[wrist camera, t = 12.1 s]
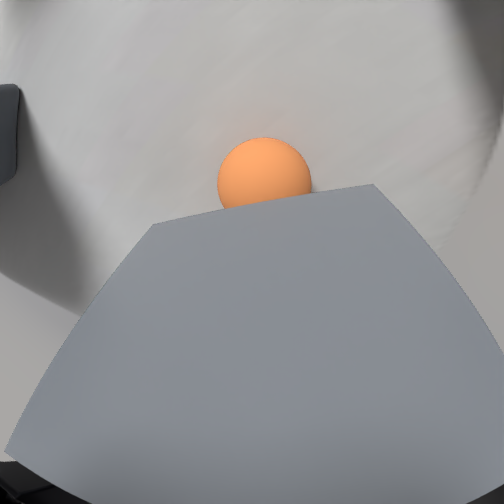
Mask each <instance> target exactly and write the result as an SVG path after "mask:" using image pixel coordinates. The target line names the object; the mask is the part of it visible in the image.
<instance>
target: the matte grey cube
mask: <svg viewBox="0 0 504 504" xmlns="http://www.w3.org/2000/svg"><path fill="white" fill-rule="evenodd" d="M4 452H6V453H7V454H8V455H9V456H11V457H12V458H13V459H15V460H16V461H18V462H19V463H20V464H22V465H23V466H25V467H26V468H28V469H29V470H31V471H33V472H34V473H36V474H37V475H39V476H40V477H42V478H44V479H45V480H47V481H49V482H51V483H52V484H54V485H56V486H58V487H59V488H61V489H63V490H65V491H67V492H69V493H71V494H73V495H75V496H77V497H79V498H81V499H83V500H85V501H87V502H89V503H92V504H466V503H469V502H471V501H473V500H475V499H477V498H479V497H481V496H483V495H485V494H487V493H489V492H490V491H492V490H494V489H496V488H498V487H499V486H501V485H503V484H504V354H503V353H502V351H501V349H500V347H499V345H498V344H497V342H496V340H495V338H494V337H493V335H492V333H491V332H490V330H489V329H488V327H487V325H486V323H485V322H484V320H483V319H482V317H481V316H480V314H479V313H478V311H477V309H476V308H475V306H474V305H473V303H472V302H471V300H470V299H469V297H468V296H467V295H466V293H465V292H464V290H463V289H462V288H461V286H460V285H459V283H458V282H457V281H456V279H455V278H454V277H453V275H452V274H451V272H450V271H449V270H448V269H447V267H446V266H445V265H444V264H443V262H442V261H441V259H440V258H439V257H438V256H437V254H436V253H435V252H434V251H433V249H432V248H431V247H430V246H429V245H428V243H427V242H426V241H425V240H424V239H423V237H422V236H421V235H420V234H419V233H418V232H417V230H416V229H415V228H414V227H413V226H412V225H411V224H410V222H409V221H408V220H407V219H406V218H405V217H404V216H403V215H402V214H401V212H400V211H399V210H398V209H397V208H396V207H395V206H394V205H393V204H392V203H391V202H390V201H389V200H388V199H387V198H386V197H385V196H384V194H383V193H382V192H381V191H380V190H379V189H378V188H377V187H376V186H375V185H374V184H371V185H363V186H356V187H349V188H342V189H335V190H329V191H322V192H316V193H310V194H304V195H298V196H292V197H286V198H280V199H275V200H269V201H263V202H258V203H253V204H247V205H242V206H237V207H232V208H227V209H222V210H217V211H212V212H207V213H202V214H198V215H193V216H188V217H184V218H179V219H175V220H170V221H166V222H162V223H157V224H153V225H152V226H151V228H150V229H149V230H148V231H147V232H146V233H145V235H144V236H143V237H142V238H141V239H140V241H139V242H138V243H137V244H136V245H135V247H134V248H133V249H132V250H131V252H130V253H129V254H128V255H127V257H126V258H125V259H124V260H123V262H122V263H121V264H120V265H119V267H118V268H117V269H116V270H115V272H114V273H113V274H112V276H111V277H110V278H109V280H108V281H107V282H106V284H105V285H104V286H103V288H102V289H101V290H100V292H99V293H98V294H97V296H96V297H95V298H94V300H93V301H92V302H91V304H90V305H89V307H88V308H87V309H86V311H85V312H84V314H83V315H82V317H81V318H80V319H79V321H78V322H77V324H76V325H75V327H74V328H73V330H72V331H71V333H70V334H69V336H68V337H67V339H66V340H65V342H64V343H63V345H62V346H61V348H60V349H59V351H58V353H57V354H56V356H55V357H54V359H53V361H52V362H51V364H50V366H49V367H48V369H47V370H46V372H45V374H44V376H43V377H42V379H41V381H40V382H39V384H38V386H37V388H36V389H35V391H34V393H33V395H32V397H31V398H30V400H29V402H28V404H27V406H26V408H25V409H24V411H23V413H22V415H21V417H20V419H19V421H18V423H17V425H16V427H15V429H14V431H13V433H12V435H11V438H10V440H9V442H8V444H7V447H6V449H5V451H4Z"/></svg>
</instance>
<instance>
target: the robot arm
mask: <svg viewBox="0 0 504 504" xmlns="http://www.w3.org/2000/svg"><path fill="white" fill-rule="evenodd" d="M0 504H92V503H89V502H87V501H85V500H83V499H81V498H79V497H77V496H75V495H73V494H71V493H69V492H67V491H65V490H63V489H61V488H59V487H58V486H56V485H54V484H52V483H51V482H49V481H47V480H45V479H44V478H42V477H40V476H39V475H37V474H36V473H34V472H33V471H31V470H29V469H28V468H26V467H25V466H23V465H22V464H20V463H19V462H18V461H11V462H0ZM466 504H504V484H503V485H501V486H499V487H498V488H496V489H494V490H492V491H490V492H489V493H487V494H485V495H483V496H481V497H479V498H477V499H475V500H473V501H471V502H469V503H466Z"/></svg>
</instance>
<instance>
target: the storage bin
mask: <svg viewBox="0 0 504 504" xmlns="http://www.w3.org/2000/svg"><path fill="white" fill-rule="evenodd" d="M18 103H19V89H18V87H17V86H16V85H15V84H2V85H0V185H2V184H3V183H5V182H6V181H8V180H9V179H11V178H12V177H13V176H14V174H15V171H16V129H17V113H18Z"/></svg>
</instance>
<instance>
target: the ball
mask: <svg viewBox="0 0 504 504" xmlns="http://www.w3.org/2000/svg"><path fill="white" fill-rule="evenodd" d="M217 187H218V194H219V197H220V200H221V203H222V205H223V207H224V208H225V209H227V208H232V207H237V206H242V205H247V204H253V203H258V202H263V201H269V200H275V199H280V198H286V197H292V196H298V195H304V194H310V193H311V176H310V171H309V168H308V166H307V164H306V162H305V160H304V158H303V157H302V156H301V155H300V154H299V152H298V151H297V150H296V149H294V148H293V147H292V146H290V145H289V144H287V143H285V142H283V141H280V140H277V139H273V138H256V139H251V140H248V141H246V142H243V143H242V144H240V145H238V146H237V147H236V148H234V149H233V150H232V151H231V152H230V153H229V154H228V155H227V157H226V158H225V159H224V161H223V163H222V165H221V168H220V170H219V174H218V183H217Z"/></svg>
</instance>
